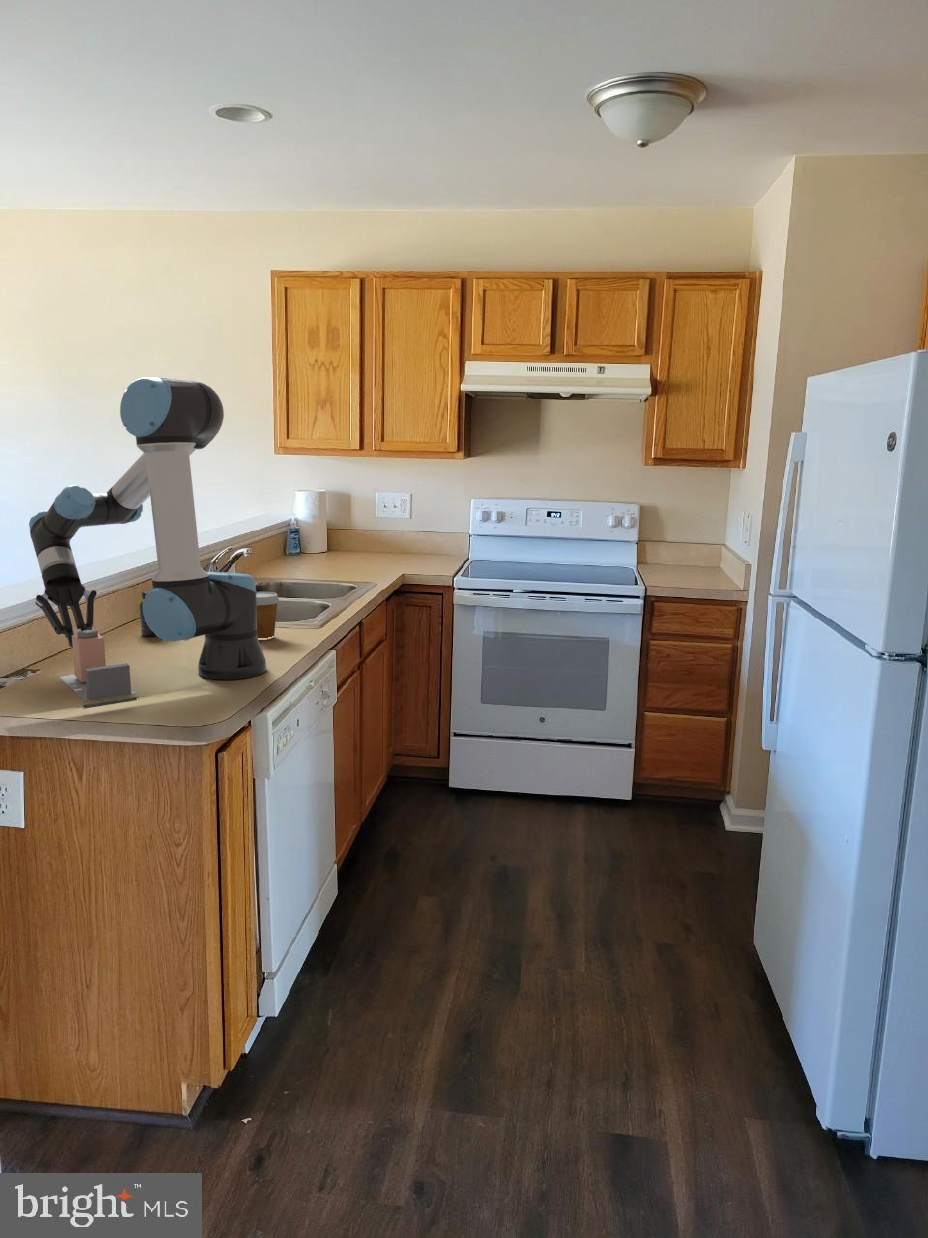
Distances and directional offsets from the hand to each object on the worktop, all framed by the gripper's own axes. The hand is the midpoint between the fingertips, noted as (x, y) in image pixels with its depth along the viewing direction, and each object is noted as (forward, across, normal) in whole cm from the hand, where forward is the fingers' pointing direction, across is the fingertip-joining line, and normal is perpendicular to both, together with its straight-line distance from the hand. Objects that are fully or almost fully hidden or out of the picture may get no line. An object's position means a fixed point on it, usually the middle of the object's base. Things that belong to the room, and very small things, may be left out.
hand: (82, 657), depth 187 cm
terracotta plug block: (+6, 0, 0) cm, 6 cm away
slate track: (+10, 0, +2) cm, 11 cm away
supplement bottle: (-23, -27, -32) cm, 48 cm away
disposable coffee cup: (-9, -50, -18) cm, 54 cm away
